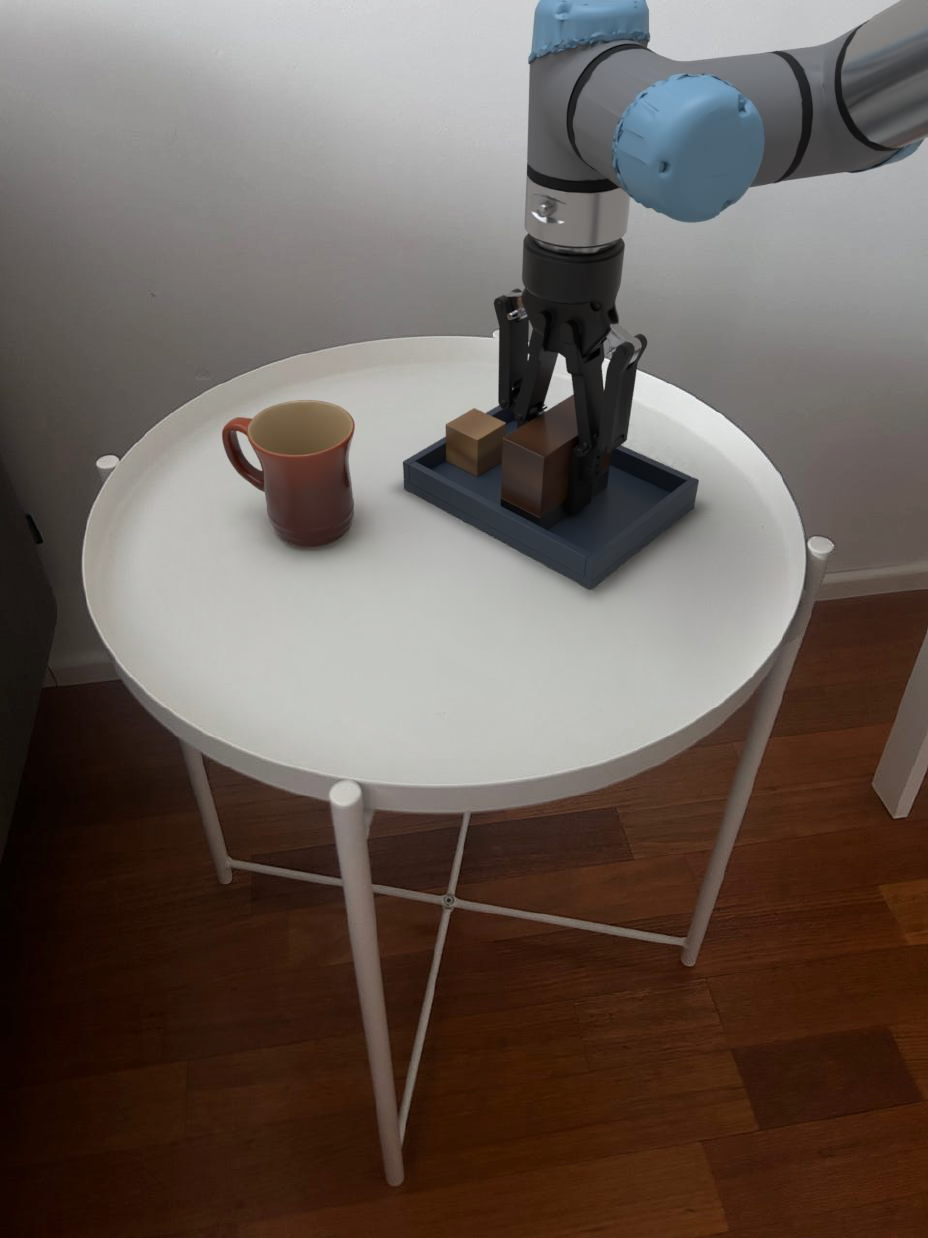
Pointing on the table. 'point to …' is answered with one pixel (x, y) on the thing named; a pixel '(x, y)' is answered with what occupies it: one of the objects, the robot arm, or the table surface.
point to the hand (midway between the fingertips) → (555, 495)
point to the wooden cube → (475, 441)
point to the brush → (543, 466)
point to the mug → (299, 468)
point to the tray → (577, 544)
